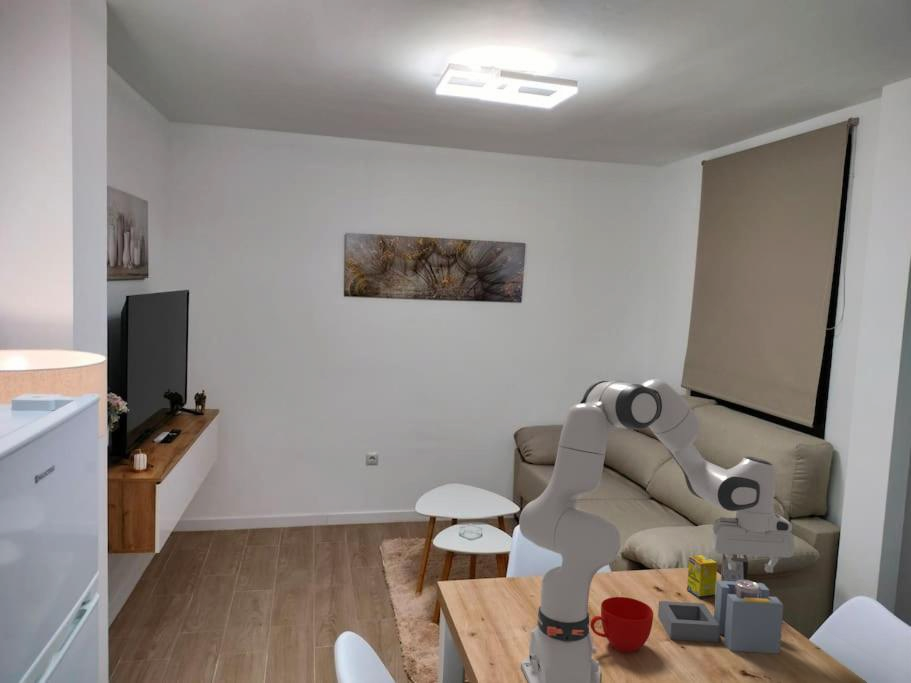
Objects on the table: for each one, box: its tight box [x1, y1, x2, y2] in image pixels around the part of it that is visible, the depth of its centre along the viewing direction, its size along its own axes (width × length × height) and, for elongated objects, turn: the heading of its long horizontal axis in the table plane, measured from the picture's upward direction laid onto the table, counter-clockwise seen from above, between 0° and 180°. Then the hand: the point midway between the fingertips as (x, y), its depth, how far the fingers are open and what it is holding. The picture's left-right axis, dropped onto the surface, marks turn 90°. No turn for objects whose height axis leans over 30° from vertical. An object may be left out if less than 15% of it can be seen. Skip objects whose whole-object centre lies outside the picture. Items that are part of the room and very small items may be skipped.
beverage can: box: [734, 579, 759, 599], centre depth 176 cm, size 6×6×15 cm
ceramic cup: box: [589, 596, 654, 654], centre depth 170 cm, size 13×17×10 cm
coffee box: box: [720, 554, 749, 582], centre depth 194 cm, size 9×6×16 cm
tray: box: [657, 600, 720, 643], centre depth 181 cm, size 12×12×4 cm
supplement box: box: [686, 554, 718, 600], centre depth 203 cm, size 6×6×11 cm
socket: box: [713, 580, 784, 655], centre depth 176 cm, size 12×12×13 cm
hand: (750, 570), depth 175 cm, fingers open, 8 cm apart
